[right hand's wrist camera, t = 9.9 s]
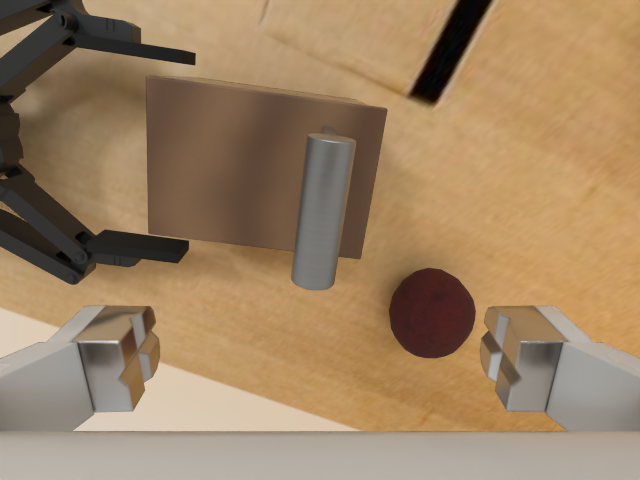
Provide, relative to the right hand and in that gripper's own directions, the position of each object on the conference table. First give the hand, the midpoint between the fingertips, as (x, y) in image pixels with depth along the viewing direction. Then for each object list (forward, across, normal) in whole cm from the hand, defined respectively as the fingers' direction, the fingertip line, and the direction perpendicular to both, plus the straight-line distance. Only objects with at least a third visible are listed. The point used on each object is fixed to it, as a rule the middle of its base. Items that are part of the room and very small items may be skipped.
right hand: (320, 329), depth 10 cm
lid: (+17, -4, 0) cm, 17 cm away
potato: (+27, +10, -13) cm, 31 cm away
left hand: (+20, -9, 0) cm, 22 cm away
